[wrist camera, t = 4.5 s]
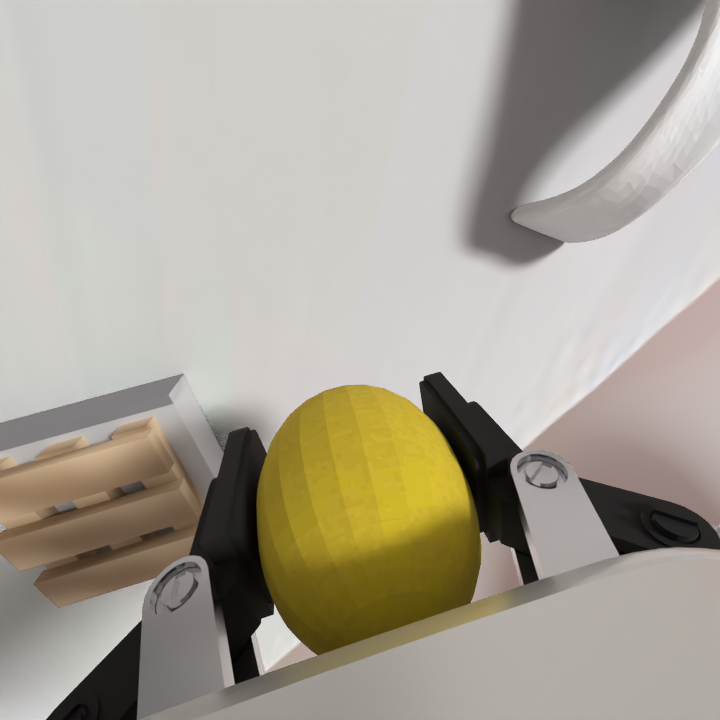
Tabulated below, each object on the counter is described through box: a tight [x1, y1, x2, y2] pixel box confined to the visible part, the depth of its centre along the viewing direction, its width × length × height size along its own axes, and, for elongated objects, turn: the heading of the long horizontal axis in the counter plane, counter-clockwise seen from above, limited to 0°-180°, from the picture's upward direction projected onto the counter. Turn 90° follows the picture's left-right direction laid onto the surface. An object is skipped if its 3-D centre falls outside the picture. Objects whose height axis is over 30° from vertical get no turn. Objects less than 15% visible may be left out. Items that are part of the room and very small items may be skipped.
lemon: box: [256, 385, 481, 655], centre depth 9 cm, size 6×6×8 cm
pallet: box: [0, 416, 204, 608], centre depth 19 cm, size 10×10×2 cm
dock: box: [0, 374, 224, 569], centre depth 21 cm, size 12×12×3 cm
